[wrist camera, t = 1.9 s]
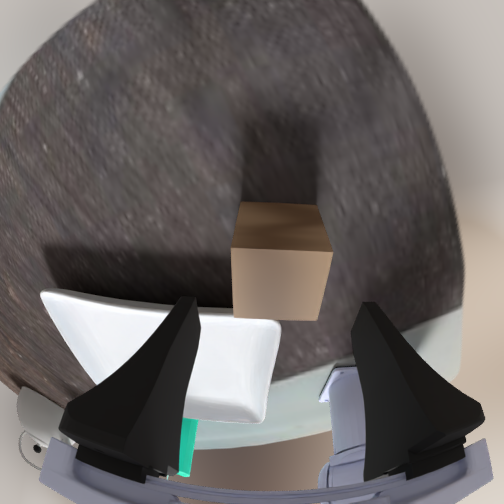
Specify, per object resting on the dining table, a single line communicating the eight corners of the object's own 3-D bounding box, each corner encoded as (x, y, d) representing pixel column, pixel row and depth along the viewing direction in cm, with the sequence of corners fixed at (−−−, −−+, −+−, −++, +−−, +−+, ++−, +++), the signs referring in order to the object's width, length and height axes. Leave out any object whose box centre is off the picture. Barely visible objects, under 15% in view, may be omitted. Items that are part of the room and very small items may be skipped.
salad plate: (282, 286, 20) (284, 321, 17) (264, 404, 32) (263, 427, 29) (51, 267, 21) (33, 290, 18) (117, 383, 33) (110, 402, 30)
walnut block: (316, 204, 16) (333, 252, 12) (307, 265, 18) (316, 320, 14) (240, 201, 16) (230, 248, 12) (241, 262, 19) (233, 317, 14)
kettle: (63, 403, 46) (39, 475, 28) (102, 434, 59) (87, 493, 41) (10, 377, 48) (-14, 434, 29) (48, 412, 61) (31, 462, 42)
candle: (154, 401, 34) (137, 472, 24) (192, 405, 33) (179, 482, 23) (169, 416, 37) (156, 479, 27) (203, 420, 36) (194, 487, 26)
